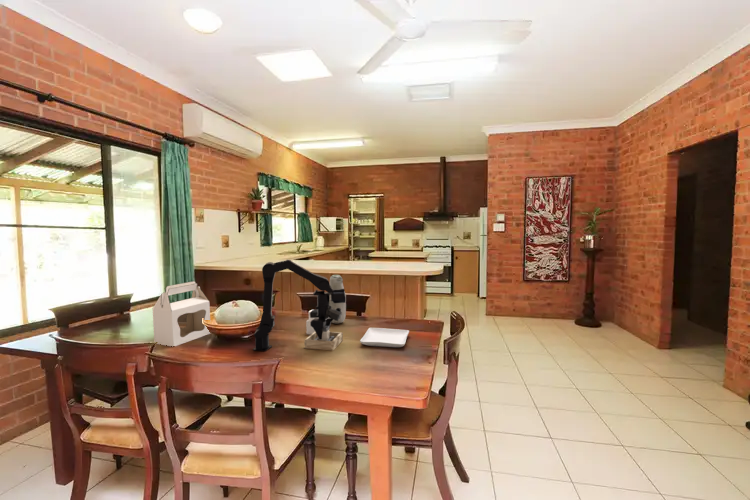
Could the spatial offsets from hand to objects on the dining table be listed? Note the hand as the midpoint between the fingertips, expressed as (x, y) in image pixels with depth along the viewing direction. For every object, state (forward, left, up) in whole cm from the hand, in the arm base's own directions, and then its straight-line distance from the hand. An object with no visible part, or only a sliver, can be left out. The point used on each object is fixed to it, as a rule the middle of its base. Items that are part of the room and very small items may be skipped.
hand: (324, 336), depth 166 cm
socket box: (0, 0, -4) cm, 4 cm away
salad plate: (+10, -28, -4) cm, 30 cm away
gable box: (-5, +73, -4) cm, 73 cm away
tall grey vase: (+35, +5, -4) cm, 36 cm away
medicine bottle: (+16, +11, -4) cm, 20 cm away
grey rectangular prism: (0, 0, -4) cm, 4 cm away
